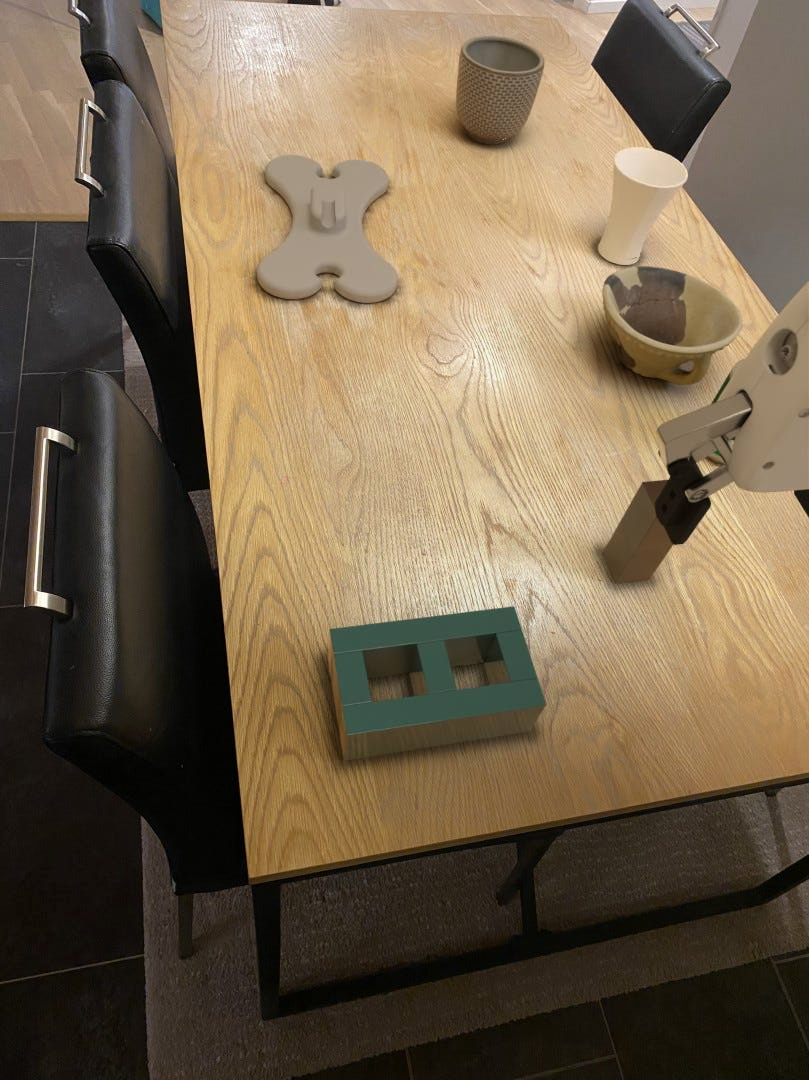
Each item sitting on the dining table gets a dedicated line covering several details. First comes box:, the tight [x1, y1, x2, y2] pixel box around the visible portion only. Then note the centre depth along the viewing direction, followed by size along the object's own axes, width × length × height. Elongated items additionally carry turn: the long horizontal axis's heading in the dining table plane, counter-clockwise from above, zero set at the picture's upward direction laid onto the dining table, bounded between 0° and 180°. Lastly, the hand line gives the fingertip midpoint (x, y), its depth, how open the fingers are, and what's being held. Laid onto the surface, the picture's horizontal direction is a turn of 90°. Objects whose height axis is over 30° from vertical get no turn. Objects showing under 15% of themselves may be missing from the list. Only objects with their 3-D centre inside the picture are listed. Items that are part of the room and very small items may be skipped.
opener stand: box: [327, 605, 547, 762], centre depth 68 cm, size 10×17×6 cm, turn 101°
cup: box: [597, 146, 689, 266], centre depth 111 cm, size 10×10×14 cm
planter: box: [455, 35, 545, 146], centre depth 128 cm, size 14×14×13 cm
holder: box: [256, 154, 399, 304], centre depth 109 cm, size 19×34×5 cm, turn 4°
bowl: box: [601, 265, 743, 386], centre depth 98 cm, size 18×18×10 cm
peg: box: [602, 479, 674, 585], centre depth 76 cm, size 4×4×12 cm
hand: (739, 517), depth 46 cm, fingers open, 9 cm apart
